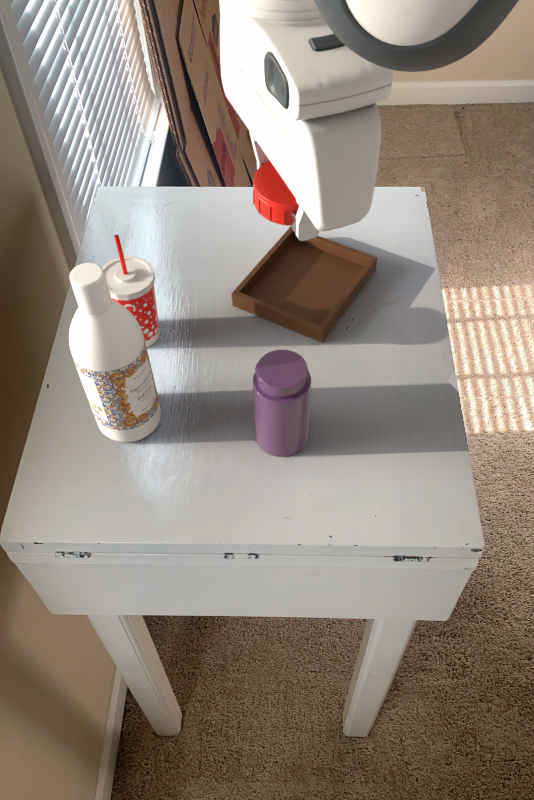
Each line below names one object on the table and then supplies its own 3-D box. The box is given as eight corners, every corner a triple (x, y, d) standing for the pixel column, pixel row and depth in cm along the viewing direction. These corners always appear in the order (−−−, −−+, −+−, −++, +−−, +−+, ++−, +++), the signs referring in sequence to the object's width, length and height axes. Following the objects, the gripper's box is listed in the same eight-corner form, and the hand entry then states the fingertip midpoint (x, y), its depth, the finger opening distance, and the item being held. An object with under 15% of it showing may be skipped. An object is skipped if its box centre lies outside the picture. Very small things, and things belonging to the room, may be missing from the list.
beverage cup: (103, 339, 81) (73, 241, 69) (138, 309, 84) (114, 209, 72) (142, 361, 79) (118, 264, 67) (176, 329, 82) (159, 231, 70)
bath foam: (134, 455, 72) (90, 314, 55) (84, 426, 74) (27, 282, 57) (175, 411, 75) (144, 264, 58) (126, 384, 77) (83, 236, 60)
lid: (270, 234, 53) (270, 213, 51) (242, 187, 56) (241, 166, 54) (340, 214, 54) (343, 194, 53) (310, 169, 57) (311, 148, 56)
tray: (290, 238, 90) (290, 225, 89) (375, 270, 87) (377, 257, 85) (232, 305, 84) (231, 293, 82) (321, 342, 80) (322, 330, 78)
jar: (289, 406, 75) (290, 337, 66) (318, 441, 72) (323, 374, 64) (245, 429, 73) (240, 361, 65) (274, 465, 71) (273, 400, 62)
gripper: (191, -37, 49) (208, 147, 60) (307, 110, 38) (300, 298, 50) (274, -53, 50) (275, 131, 61) (408, 85, 39) (378, 275, 51)
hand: (287, 207), depth 55 cm, fingers closed on lid, 6 cm apart
